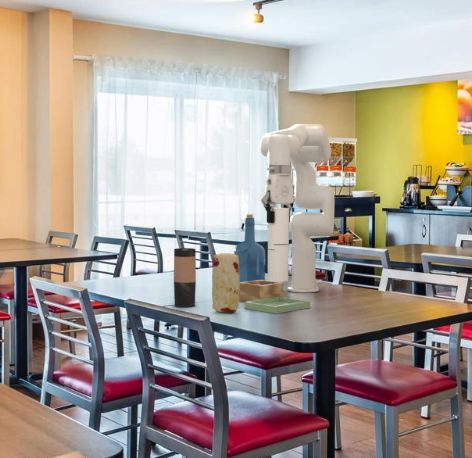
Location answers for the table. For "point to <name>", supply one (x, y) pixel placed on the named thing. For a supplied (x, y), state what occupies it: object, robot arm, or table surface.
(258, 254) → the wine bottle
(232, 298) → the food model
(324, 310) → the table surface
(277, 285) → the crate
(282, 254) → the cylindrical container
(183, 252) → the travel mug
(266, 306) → the tray
